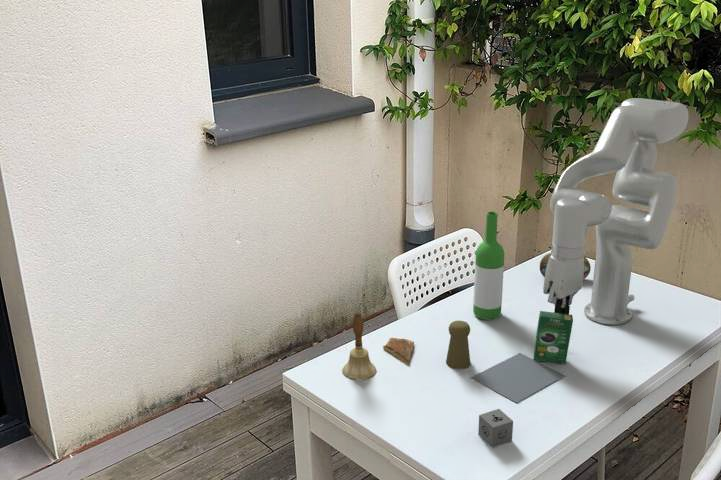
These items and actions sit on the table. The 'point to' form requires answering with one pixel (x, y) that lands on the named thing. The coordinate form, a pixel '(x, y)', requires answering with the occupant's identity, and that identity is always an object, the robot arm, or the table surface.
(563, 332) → the coffee box
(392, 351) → the shard
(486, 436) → the dice cube
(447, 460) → the table surface
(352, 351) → the hand bell
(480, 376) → the slate mat
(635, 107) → the robot arm
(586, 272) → the tin
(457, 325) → the cork
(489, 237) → the wine bottle
